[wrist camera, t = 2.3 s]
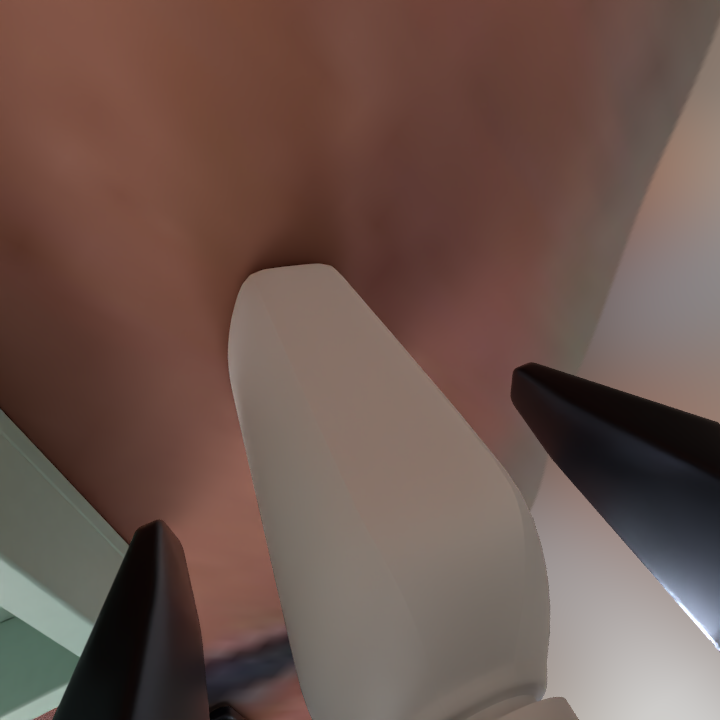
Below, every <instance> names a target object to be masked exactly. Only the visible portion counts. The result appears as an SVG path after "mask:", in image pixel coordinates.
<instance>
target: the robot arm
mask: <svg viewBox="0 0 720 720" xmlns="http://www.w3.org/2000/svg"><path fill="white" fill-rule="evenodd" d="M511 400H512V402H513V404H514V406H515V408H516V409H517V410H518V412H519V413H520V415H521V416H522V417H523V419H524V420H525V422H526V423H527V425H528V426H529V427H530V429H531V430H532V432H533V433H534V434H535V436H536V437H537V439H538V440H539V442H540V443H541V444H542V446H543V447H544V449H545V450H546V451H547V453H548V454H549V455H550V457H551V458H552V459H553V461H554V462H555V463H556V464H557V465H558V467H559V468H560V469H561V470H562V471H563V472H564V474H565V475H566V476H567V477H568V478H569V479H570V480H571V482H572V483H573V484H574V485H575V486H576V487H577V488H578V490H579V491H580V492H581V493H582V494H583V495H584V496H585V497H586V499H587V500H588V501H589V502H590V503H591V504H592V506H593V507H594V508H595V509H596V510H597V511H598V512H599V514H600V515H601V516H602V517H603V518H604V519H605V520H606V522H607V523H608V524H609V525H610V526H611V527H612V528H613V530H614V531H615V532H616V533H617V534H618V535H619V536H620V537H621V539H622V540H623V541H624V542H625V543H626V545H627V546H628V547H629V548H630V549H631V550H632V551H633V553H634V554H635V555H636V556H637V557H638V558H639V559H640V560H641V562H642V563H643V564H644V565H645V566H646V567H647V569H649V571H650V572H651V573H652V574H653V575H654V576H655V578H656V579H657V580H658V581H659V582H660V583H661V585H662V586H663V587H664V588H665V589H666V590H667V591H668V593H669V594H670V595H671V596H672V597H673V598H674V599H675V601H676V602H677V603H678V604H679V605H680V606H681V607H682V609H683V610H684V611H685V612H686V613H687V614H688V615H689V617H690V618H691V619H692V620H693V621H694V622H695V623H696V625H697V626H698V627H699V628H700V629H701V630H702V631H703V632H704V634H705V635H706V636H707V637H708V638H709V639H710V641H712V642H713V644H714V646H715V647H716V648H717V649H718V650H719V651H720V424H719V423H718V422H715V421H712V420H709V419H706V418H703V417H700V416H697V415H694V414H690V413H687V412H684V411H681V410H678V409H675V408H672V407H669V406H666V405H663V404H660V403H657V402H653V401H650V400H647V399H644V398H641V397H638V396H635V395H632V394H629V393H626V392H623V391H619V390H617V389H613V388H610V387H607V386H604V385H601V384H598V383H595V382H592V381H589V380H586V379H583V378H580V377H577V376H574V375H571V374H567V373H564V372H561V371H558V370H555V369H552V368H549V367H546V366H543V365H540V364H537V363H532V362H531V363H527V364H524V365H522V366H519V367H517V368H515V370H514V371H513V375H512V385H511ZM52 720H245V719H244V718H243V717H242V716H241V715H240V714H238V713H237V712H236V711H235V710H234V709H232V708H231V707H229V706H225V707H221V708H219V709H217V710H215V711H213V712H211V713H209V706H208V696H207V685H206V675H205V664H204V654H203V644H202V636H201V629H200V624H199V619H198V614H197V609H196V605H195V600H194V596H193V591H192V586H191V582H190V577H189V573H188V568H187V563H186V559H185V554H184V550H183V547H182V545H181V543H180V541H179V539H178V538H177V537H176V536H175V534H174V533H173V532H172V531H171V529H170V528H169V527H168V526H167V524H166V523H165V522H164V521H163V520H160V519H159V520H155V521H153V522H150V523H148V524H146V525H143V526H141V527H139V528H138V529H137V530H136V532H135V534H134V536H133V538H132V541H131V543H130V545H129V547H128V550H127V552H126V554H125V556H124V559H123V561H122V563H121V565H120V568H119V570H118V572H117V575H116V577H115V579H114V581H113V584H112V586H111V588H110V590H109V593H108V595H107V597H106V599H105V602H104V604H103V606H102V609H101V611H100V613H99V615H98V618H97V620H96V622H95V624H94V627H93V629H92V631H91V633H90V636H89V638H88V640H87V642H86V645H85V647H84V649H83V652H82V654H81V656H80V658H79V661H78V663H77V665H76V667H75V670H74V672H73V674H72V676H71V679H70V681H69V683H68V686H67V688H66V690H65V692H64V695H63V697H62V699H61V701H60V704H59V706H58V708H57V710H56V713H55V715H54V717H53V719H52Z"/></svg>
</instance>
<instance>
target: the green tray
mask: <svg viewBox="0 0 720 720" xmlns="http://www.w3.org/2000/svg"><path fill="white" fill-rule="evenodd" d="M128 547H129V545H128V544H127V543H126V542H125V541H124V540H123V539H122V538H121V537H120V536H119V535H118V533H117V532H116V531H115V530H114V529H113V528H112V527H111V526H110V525H109V524H108V523H107V522H106V521H105V520H104V519H103V517H102V516H101V515H100V514H99V513H98V512H97V511H96V510H95V509H94V508H93V507H92V506H91V505H90V504H89V503H88V502H87V500H86V499H85V498H84V497H83V496H82V495H81V494H80V493H79V492H78V491H77V490H76V489H75V488H74V487H73V486H72V484H71V483H70V482H69V481H68V480H67V479H66V478H65V477H64V476H63V475H62V474H61V473H60V472H59V471H58V470H57V469H56V467H55V466H54V465H53V464H52V463H51V462H50V461H49V460H48V459H47V458H46V457H45V456H44V455H43V454H42V453H41V452H40V450H39V449H38V448H37V447H36V446H35V445H34V444H33V443H32V442H31V441H30V440H29V439H28V438H27V437H26V436H25V434H24V433H23V432H22V431H21V430H20V429H19V428H18V427H17V426H16V425H15V424H14V423H13V422H12V421H11V420H10V419H9V417H8V416H7V415H6V414H5V413H4V412H3V411H2V410H1V409H0V720H32V719H34V718H36V717H38V716H40V715H42V714H44V713H46V712H48V711H50V710H52V709H54V708H56V707H58V706H59V704H60V701H61V699H62V697H63V695H64V692H65V690H66V688H67V686H68V683H69V681H70V679H71V676H72V674H73V672H74V670H75V667H76V665H77V663H78V661H79V658H80V656H81V654H82V652H83V649H84V647H85V645H86V642H87V640H88V638H89V636H90V633H91V631H92V629H93V627H94V624H95V622H96V620H97V618H98V615H99V613H100V611H101V609H102V606H103V604H104V602H105V599H106V597H107V595H108V593H109V590H110V588H111V586H112V584H113V581H114V579H115V577H116V575H117V572H118V570H119V568H120V565H121V563H122V561H123V559H124V556H125V554H126V552H127V550H128Z"/></svg>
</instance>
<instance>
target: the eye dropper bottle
mask: <svg viewBox="0 0 720 720" xmlns="http://www.w3.org/2000/svg"><path fill="white" fill-rule="evenodd" d="M228 367H229V375H230V382H231V387H232V392H233V396H234V401H235V405H236V410H237V414H238V418H239V423H240V427H241V432H242V436H243V440H244V445H245V449H246V454H247V458H248V462H249V467H250V471H251V476H252V480H253V484H254V489H255V493H256V498H257V502H258V506H259V511H260V515H261V520H262V524H263V528H264V533H265V537H266V542H267V546H268V550H269V555H270V559H271V564H272V568H273V572H274V577H275V581H276V586H277V590H278V594H279V599H280V603H281V607H282V612H283V616H284V620H285V625H286V629H287V633H288V638H289V642H290V646H291V651H292V655H293V659H294V664H295V668H296V671H297V675H298V679H299V683H300V687H301V691H302V694H303V697H304V700H305V703H306V706H307V708H308V711H309V713H310V716H311V718H312V720H579V719H578V718H577V716H576V714H575V713H574V711H573V710H572V708H571V707H570V705H569V704H568V702H567V700H566V699H565V698H563V697H553V698H548V699H544V700H541V699H542V698H543V696H544V694H545V691H546V688H547V653H548V645H549V634H550V599H549V586H548V577H547V571H546V565H545V560H544V555H543V551H542V546H541V542H540V539H539V536H538V533H537V529H536V526H535V523H534V520H533V518H532V515H531V513H530V511H529V509H528V507H527V505H526V503H525V500H524V498H523V496H522V494H521V492H520V491H519V489H518V488H517V486H516V484H515V483H514V481H513V480H512V478H511V477H510V475H509V474H508V472H507V471H506V469H505V468H504V467H503V466H502V465H501V463H500V462H499V461H498V460H497V458H496V457H495V456H494V455H493V453H492V452H491V451H490V450H489V449H488V447H487V446H486V445H485V444H484V442H483V441H482V440H481V439H480V437H479V436H478V435H477V434H476V433H475V431H474V430H473V429H472V428H471V426H470V425H469V424H468V423H467V421H466V420H465V419H464V418H463V416H462V415H461V414H460V413H459V412H458V411H457V409H456V408H455V407H454V406H453V405H452V403H451V402H450V401H449V400H448V399H447V398H446V396H445V395H444V394H443V393H442V392H441V391H440V389H439V388H438V387H437V386H436V385H435V383H434V382H433V381H432V380H431V379H430V378H429V376H428V375H427V374H426V373H425V372H424V371H423V369H422V368H421V367H420V366H419V365H418V363H417V362H416V361H415V360H414V359H413V358H412V356H411V355H410V354H409V353H408V352H407V351H406V349H405V348H404V347H403V346H402V345H401V343H400V342H399V341H398V340H397V339H396V338H395V336H394V335H393V334H392V333H391V332H390V331H389V329H388V328H387V327H386V326H385V325H384V324H383V323H382V321H381V320H380V319H379V318H378V317H377V316H376V314H375V313H374V312H373V311H372V310H371V309H370V307H369V306H368V305H367V304H366V303H365V302H364V300H363V299H362V298H361V297H360V296H359V295H358V293H357V292H356V291H355V290H354V289H353V288H352V287H351V285H350V284H349V283H348V282H347V281H346V280H345V278H344V277H343V276H342V275H341V274H340V273H339V272H338V271H337V270H336V269H334V268H333V267H332V266H330V265H325V264H320V263H317V264H304V265H295V266H286V267H277V268H270V269H263V270H261V271H258V272H256V273H253V274H251V275H249V277H248V278H247V279H246V280H245V281H244V283H243V284H242V286H241V289H240V291H239V293H238V296H237V299H236V303H235V306H234V310H233V314H232V319H231V324H230V330H229V340H228Z"/></svg>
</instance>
